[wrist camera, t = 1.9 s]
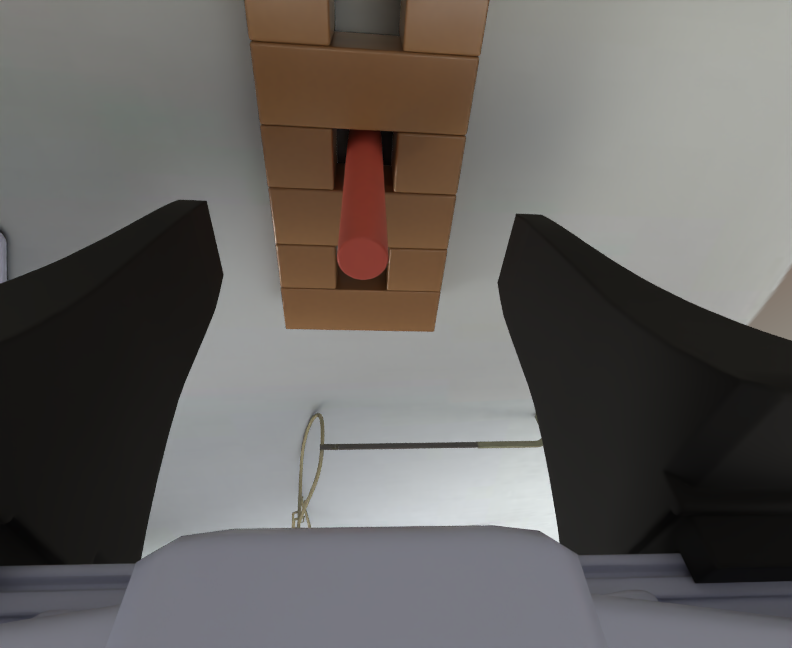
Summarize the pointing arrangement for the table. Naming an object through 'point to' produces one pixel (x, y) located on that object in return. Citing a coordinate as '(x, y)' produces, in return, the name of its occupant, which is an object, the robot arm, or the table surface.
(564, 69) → the table surface
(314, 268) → the caddy
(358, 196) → the red cylindrical rod
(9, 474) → the robot arm
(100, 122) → the table surface
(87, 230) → the table surface
